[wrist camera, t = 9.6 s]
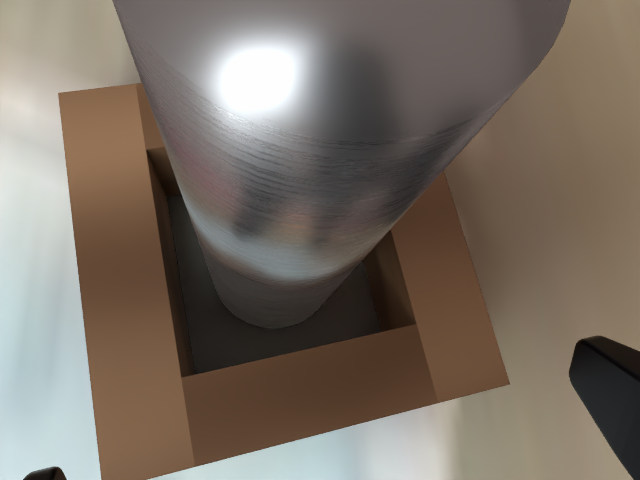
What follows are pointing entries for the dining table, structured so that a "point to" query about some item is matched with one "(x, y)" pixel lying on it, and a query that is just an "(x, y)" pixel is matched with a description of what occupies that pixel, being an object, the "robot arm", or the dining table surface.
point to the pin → (319, 123)
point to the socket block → (262, 375)
